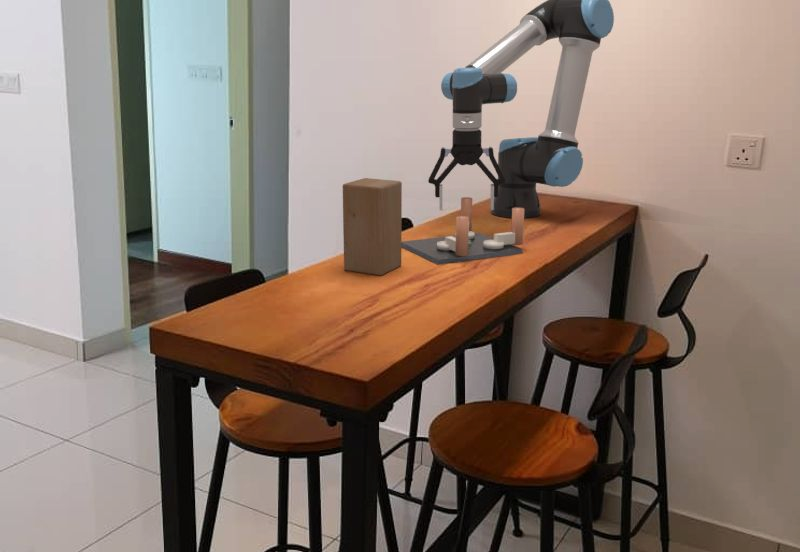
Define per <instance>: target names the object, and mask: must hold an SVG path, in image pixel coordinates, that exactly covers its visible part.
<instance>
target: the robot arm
mask: <svg viewBox="0 0 800 552" xmlns="http://www.w3.org/2000/svg"><path fill="white" fill-rule="evenodd" d="M614 21H615V16H614V10H613V6H612V4H611V2H610V0H545V1H544V2H542V3H540V4H539V5H537V6H535V8H533V9H531V10H530V11H529V12H527V13H526V14H524V15H523V16H522V17H521V19H520V21H519V24H517V26H516V27H514V28H513V29H511V31H509V32H508V33H507V34H505V35H504V36H503V37H502V38H500V39H499V40H498V41H497V42H495V43H494V44H493V45H491V46H490V47H489V48H488V49H486V50H485V51H484V52H482V54H480V55H479V56H478V57H476V58H475V59H473V61H471V62H470V63H469V64H468V65H466V66H465V67H457V68H455V69H454V70H453V72H448V73H447V74H445V75H444V76H443V78H442V81H441V84H440V85H441V86H440V90H441V93H442V95H443V96H444V98H446V99H447V100H451V101H452V128H453V130H452V147H451V148H445V147H444V146H443V147H441V148H440V154H439V156H438V159H437V161H436V163H435V165H434V167H433V170H432V171H431V173H430V176H429V177H428V180H427V181H428V183H429V184H432V185H434V192H435V194H434V196H435V198H439V211H443V184H441V183H442V182H443V181H444V180H445V179H446V177H447V176H449V174H450V173H451V171H453V170H454V168H455V167H457V165H460V166H466V165H468V166H474V165H475V164H476V165H477V166H478V167H479V168H480V169H481V171H482V172H483V173H484V174H485V176H486V177H487V178H488V179H489V180H490V182H492V183H490V196H489V197H490V203H489V207H490V208H489V209H490V213H491V215H495V216H497V217H502V218H510V219H512V208H524V219H525V218H527V219H528V218H534V217H538V216H541V212H542V209H541V208H542V207H541V206H542V205H541V203H540V199H539V196H538V192H537V184H540V185H545V186H548V187H559V188H563V187H568V186H569V185H571V184H572V183H573V182H575V181H576V180H577V178H578V177H579V176H580V174H581V171H582V168H583V163H584V158H583V154H582V151H581V150H580V149H578V146H579V141H578V140H577V138H576V135H575V134H576V130H577V126H578V121H579V116H580V112H581V107H582V103H583V98H584V93H585V89H586V84H587V80H588V75H589V71H590V70H589V69H590V66H591V61H592V57H593V52H595V51H596V50H597V49H599V48H600V46H601V41H602V39H604V38H605V37H608V36H609V35H610V33H611V32H612V30H613V27H614ZM557 38H558V42H559V43H560V45H561V52H560V53H561V54H560V58H559V62H558V65H557V66H558V67H557V71H556V72H557V73H556V76H555V82H554V87H553V90H552V96H551V98H550V105H549V109H548V114H547V119H546V123H545V128H544V130H543V132H541V133H540V134H539V135H538V136H533V137H529V136H528V137H516V138H505V139H502V140H501V141H500V142H499V147H498V152H497V157H498V159H496V157H495V155H494V148H493V147H492V146H489V147H485V148H483V147H482V130H481V127H482V122H483V121H482V116H483V115H482V114H483V113H482V112H483V111H482V109H483V105H489V104H504V103H507V102H508V103H509V102H511V101H513V100H514V99H515V97H516V95H517V92H518V82H517V80H516V78H515V77H514V76H513V75H512V74H510V73H503V72H504V71H505V70H506V69H508V68H509V67H510V66H512V65H513V64H514V63H515V62H516V61H518V60H519V59H520V58H522V57H523V55H525V54H527V53H528V52H529V51H530V50H532V49H533V48H534V47H535V46H541V45H543V44H544V43H545V42H547V41H549V40H552V39H557ZM449 154H450V155H451V156H452V157H453V159H452V160H451V162H450V163H449V164H448V166H447V167H446V168H444V170H443V171H442V173H441V174H440V175H439V176H438V177H437V174H438V172H439V170H440V168H441V166H442V164H443V162H444V160H445V158H446V157H448V156H449ZM483 154H484V155H486V157H489V161H490V162H491V164H492V166H493V168H494V170H495V172H496V174H497V177H496V176H495V175H494V174H493V173H492V172H491V170H490V169H489V168H488V167H487V165H485V164H484V162H483V161H482V160H481V159H480V158H481V156H482V155H483ZM436 177H437V178H436Z"/></svg>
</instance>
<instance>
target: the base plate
mask: <svg viewBox="0 0 800 552" xmlns="http://www.w3.org/2000/svg"><path fill="white" fill-rule="evenodd" d="M474 233H475V238H473V239H468V255H466V256H458V255H456V254H455V251H453V250H440V249H437V242H440V241H445V237H449V236H450V235H447V236H439V237H437V236H436V237H430V238H421V239H413V240H404V241H402V240H401V249H402V248H403V249H405V250H407V251H409V252H410V253H413V254H414V255H417V256H420V257H421V258H423V259H425V260H427V261H429V262H432V263H434V264H435V265H439V266H440V265H445V264H446V265H447V264H453V263H461V262H469V261H475V260H483V259H484V260H485V259H489V258H490V259H492V258H498V257H505V256H507V257H508V256H513V255H520V254H521V255H522V254H523V250H524V249H523V248H521V247H519V246H518V245H512V244H507V245H504V247H503V248H501V249H488V248H484V247H483V242H484V241H485V240H494V236H493V237H492V236H490V235H487V234H484V233H481V232H474ZM451 236H452V237H455V235H451ZM455 238H456V237H455Z"/></svg>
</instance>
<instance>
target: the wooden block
mask: <svg viewBox="0 0 800 552" xmlns="http://www.w3.org/2000/svg"><path fill="white" fill-rule="evenodd" d="M402 186H403V185H402V181H400V180H392V179H391V180H390V179H379V178H369V177H365V178H360V179H357V180H353V181H350V182H345V183H343V184H342V218H343V220H342V224H343V227H342V229H343V231H342V233H343V269H344V271H346V272H347V271H348V272H355V273H361V274H369V275H375V276H384V275H385V274H387V273H390V272H391V271H393V270H395V269H397V268H400V267H401V266H402V247H401V242H402V230H403V229H402V224H403V223H402V213H403V210H402V202H403V201H402V200H403V199H402V195H403V194H402V193H403V191H402V190H403V189H402Z"/></svg>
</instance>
